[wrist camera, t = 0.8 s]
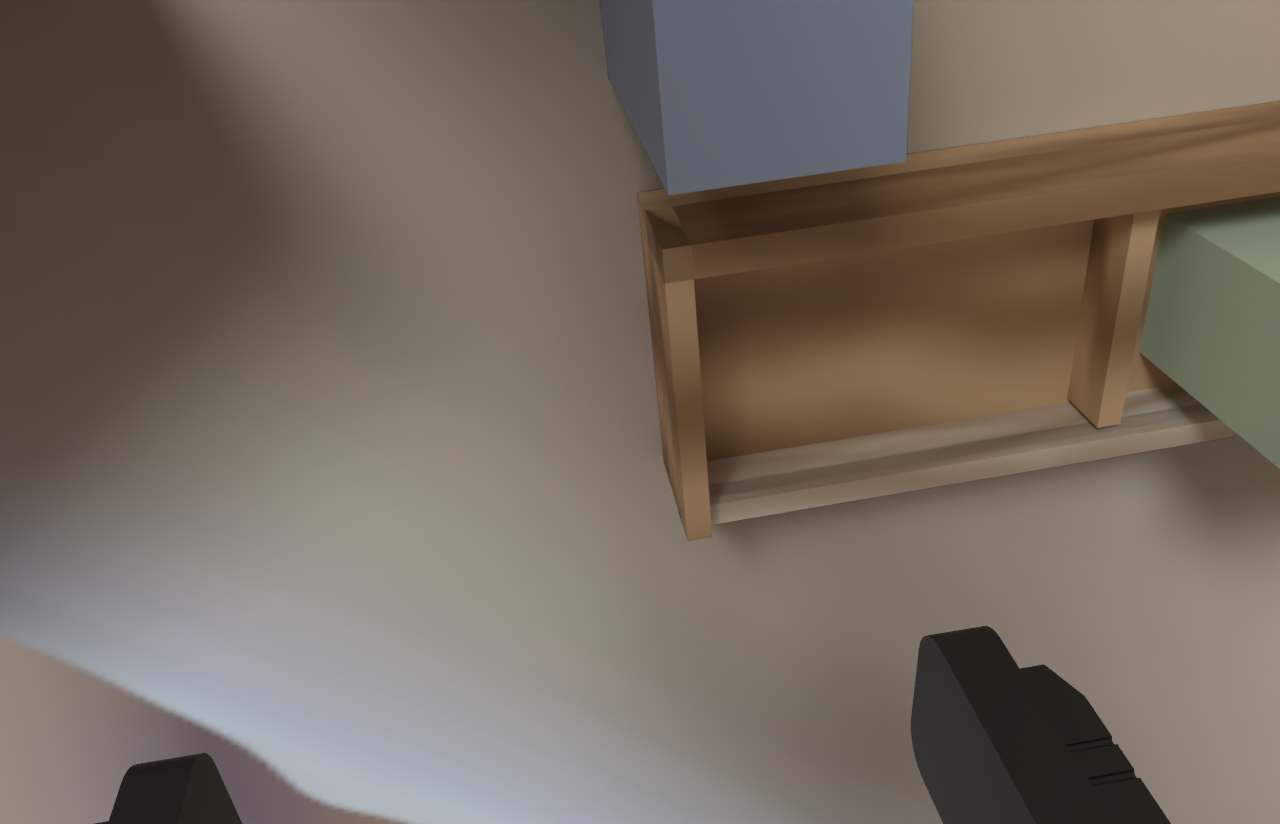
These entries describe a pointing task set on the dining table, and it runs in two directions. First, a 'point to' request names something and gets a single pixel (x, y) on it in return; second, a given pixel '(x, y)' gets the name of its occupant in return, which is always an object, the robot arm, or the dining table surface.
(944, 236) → the shelf
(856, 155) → the tea box
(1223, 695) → the dining table surface
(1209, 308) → the sage box
